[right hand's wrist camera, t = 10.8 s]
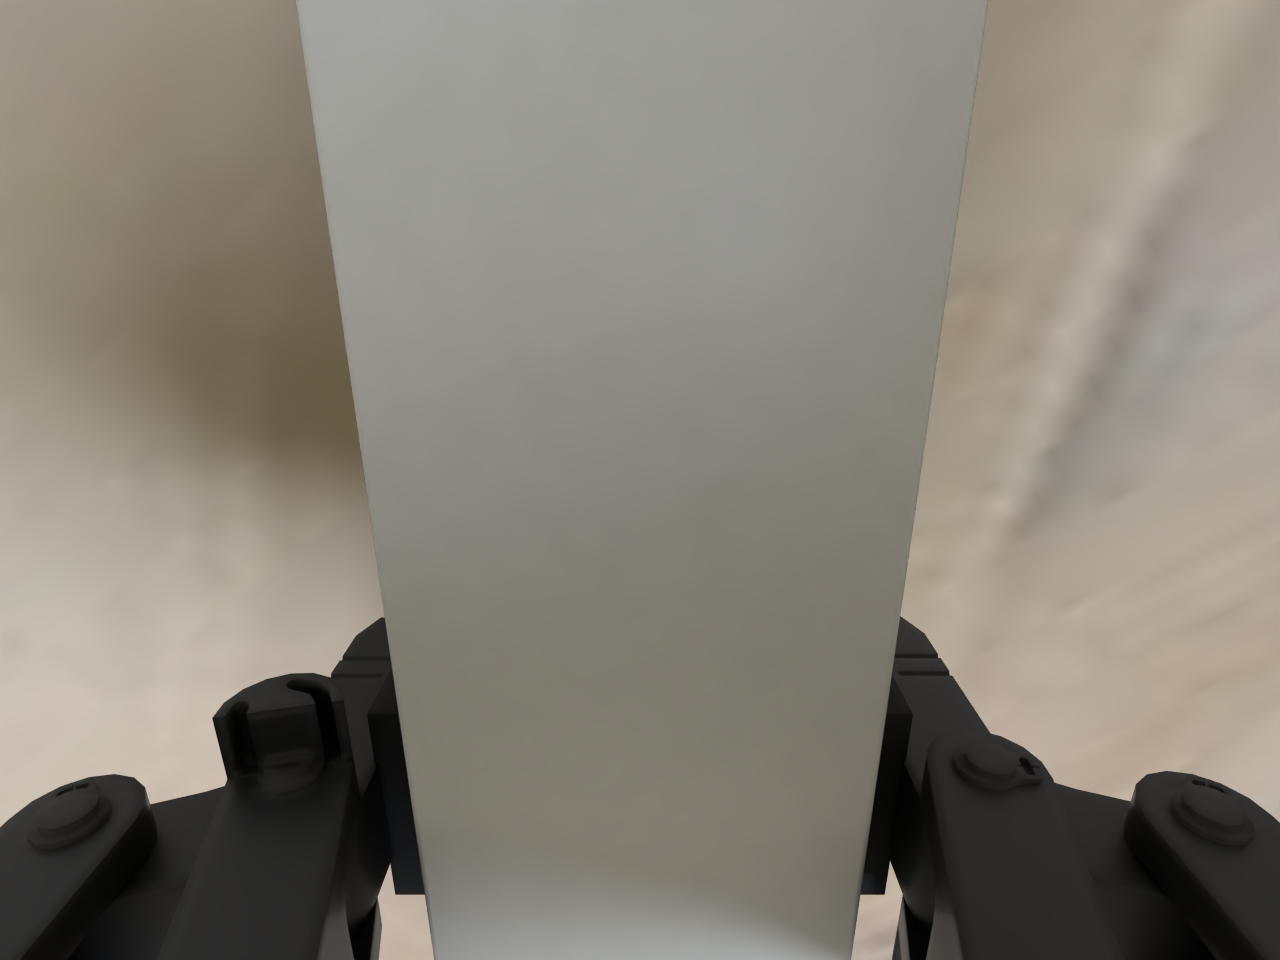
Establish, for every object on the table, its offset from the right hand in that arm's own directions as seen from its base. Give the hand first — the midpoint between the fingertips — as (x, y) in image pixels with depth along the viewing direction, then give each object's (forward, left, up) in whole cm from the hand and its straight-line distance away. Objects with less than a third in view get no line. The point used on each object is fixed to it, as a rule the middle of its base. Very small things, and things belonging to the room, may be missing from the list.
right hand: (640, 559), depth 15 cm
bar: (+22, -5, -1) cm, 23 cm away
